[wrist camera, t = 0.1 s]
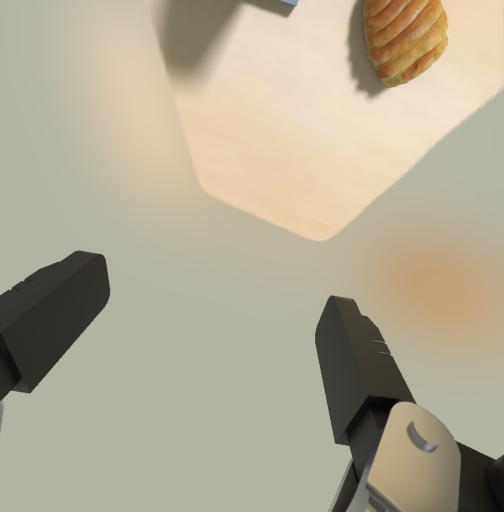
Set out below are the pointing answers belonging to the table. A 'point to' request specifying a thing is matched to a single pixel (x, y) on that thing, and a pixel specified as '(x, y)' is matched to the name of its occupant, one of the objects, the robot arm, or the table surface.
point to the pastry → (404, 37)
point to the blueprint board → (291, 2)
